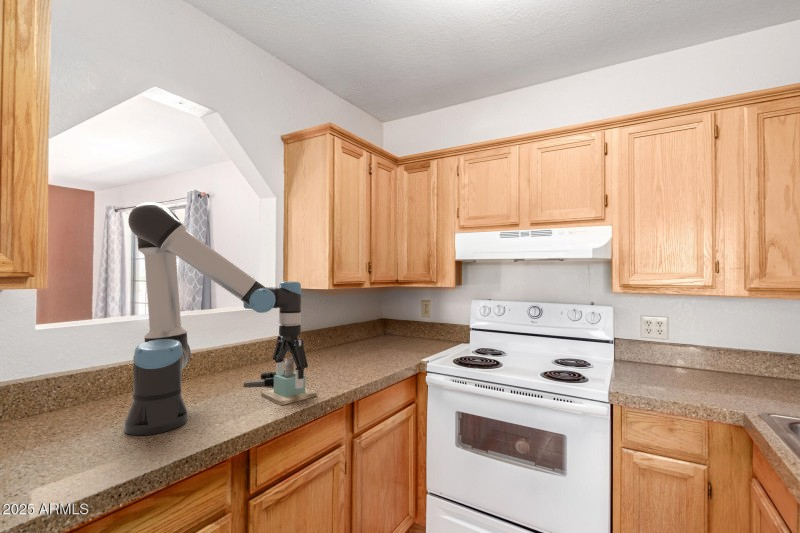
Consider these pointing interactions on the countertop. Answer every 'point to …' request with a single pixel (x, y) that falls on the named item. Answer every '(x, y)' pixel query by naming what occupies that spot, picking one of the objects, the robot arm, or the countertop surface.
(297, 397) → the peg stand
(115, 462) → the countertop surface
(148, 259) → the robot arm
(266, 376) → the black toy gun
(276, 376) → the collar
